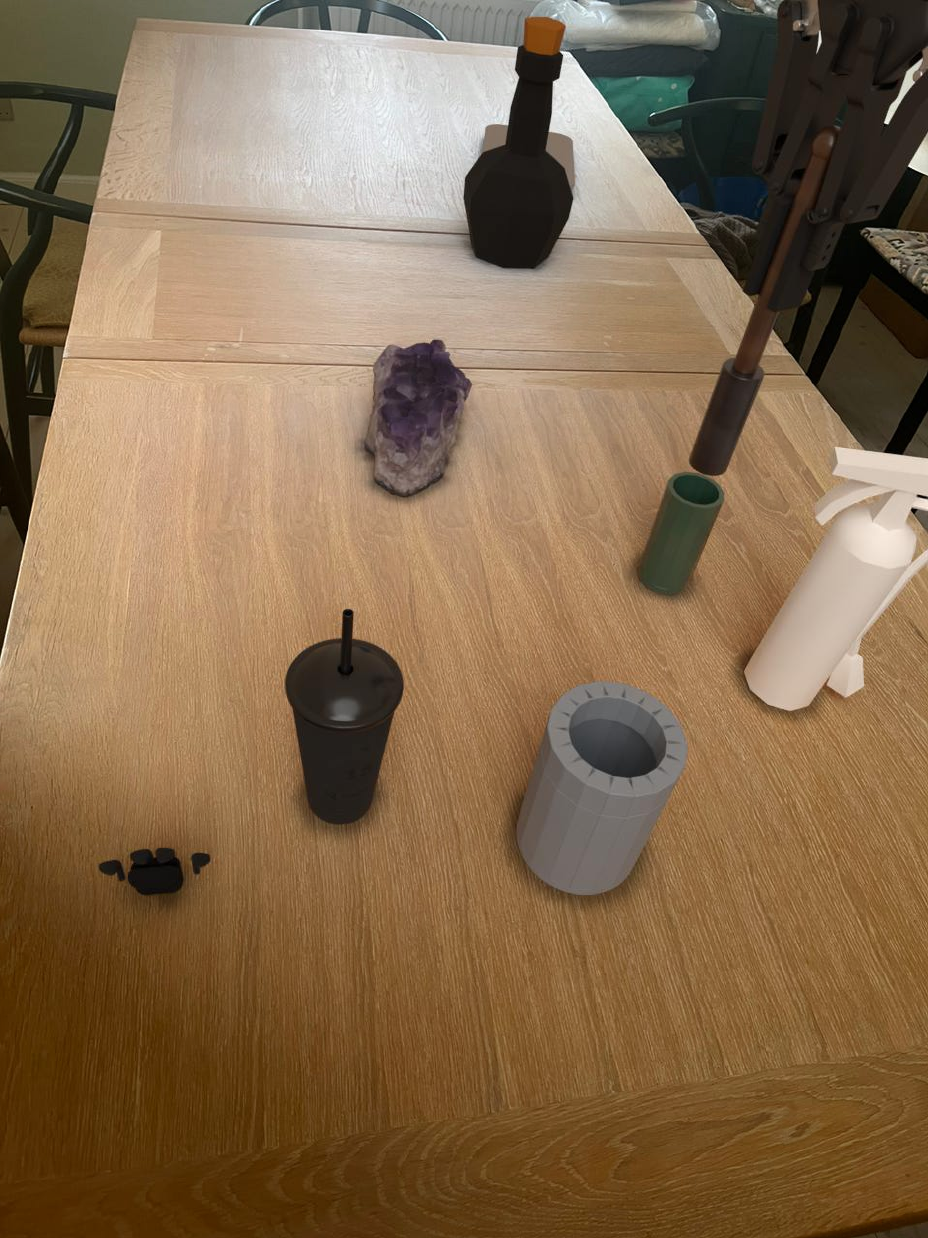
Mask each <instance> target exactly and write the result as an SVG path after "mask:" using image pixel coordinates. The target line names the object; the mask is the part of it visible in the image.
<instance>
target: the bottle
mask: <svg viewBox="0 0 928 1238" xmlns="http://www.w3.org/2000/svg"><path fill="white" fill-rule="evenodd" d="M523 25H524V26H523V44H522V45H519V46H517V52H516V57H515V63H514V64H515V65H514V71H515V74H516V75H517V77H518V80H517V83H516V87H515V91H514V94H513V97H512V101H511V104H510V109H509V116H508V123H507V125H508V129H507V136H506V143H505V145H502V146H499V147H497V148H494V149H491V150H488V151H485V152H482V151H481V154H480V155H479V156H478V158H477V159H476V161H475V162H474V164H473V165H472V167H471V168H470V170H469V171H468V172H467V174H466V175H465V177H464V184H463V195H462V196H463V204H464V211H465V216H466V222H467V228H468V234H469V241H470V244H471V247H472V250H473V252H474V254H475V257H476V258H479V259H481V260H483V261H485V262H488V263H491V264H493V265H495V266H497V267H500V268H502V269H535V268H536V267H538V266H539V265H541V264H542V263H543V262H545V261H546V260H548V259H549V257H550V255H551V253H552V251H553V249H554V247H555V245H556V243H557V241H558V240H559V238H560V237H561V234H562V232H563V230H564V229H565V226H566V224H567V223H568V222H569V219H570V215H571V212H572V208H573V204H574V203H573V202H574V200H575V199H574V195H573V191H572V189H571V188H570V185H569V181H568V178H567V175H566V171H565V168H564V167H563V166H562V165H561V164H560V163H559V162H558V161H557V160H556V159H555V158H554V157H553V156H551V155H550V154H549V153H548V152H547V151H546V145H547V140H548V134H549V132H550V128H551V123H552V115H553V97H554V94H553V93H554V82H555V81H557V80H559V79H560V77H561V71H562V66H563V60H564V54H563V53H562V52H561V51H560V49H561V45H562V42H563V38H564V34H565V31H566V28H567V26H566V25H565V23H563V21H559V20H557V19H555V18H552V17H549V16H529V17H525V18H524V24H523Z"/></svg>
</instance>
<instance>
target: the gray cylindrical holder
mask: <svg viewBox="0 0 928 1238" xmlns="http://www.w3.org/2000/svg"><path fill="white" fill-rule="evenodd" d="M542 734H543V735H542V738H541V740H540V744H539V747H538V751H537V753H536V754H537V755H536V756H535V761H534V763H533V767H532V770H531V774H530V777H529V780H528V784H527V787H526V791H525V794H524V797H523V801H522V803H521V807H520V811H519V815H518V818H517V822H516V828H515V831H516V832H515V836H516V844H517V846H518V850H519V853H520V855H521V857H522V859H523V860H524V862H525V864H526V865H527V867H528V868H529V869H530V871H531V872H532V873H533V874H535V876H536V877H537V878H539V879H540V880H541V881H542V882H544V883H545V884H547V885H548V886H550V887H551V888H554V889H556V890H558V891H561V892H563V893H566V894H571V895H579V896H594V895H601V894H603V893H606V892H609V891H611V890H614V889H615V888H617V887H618V886H620V885H621V884H622V883H623V882H624V881H625V880H626V879H627V878H628V876H629V875H630V874H631V872H632V870H633V868H634V866H635V865H636V863H637V861H638V859H639V858H640V856H641V854H642V851H643V850H644V848H645V846H646V844H647V842H648V840H649V838H650V835H651V834H652V832H653V831H654V828H655V827H656V824H657V822H658V821H659V818H660V816H661V814H662V813H663V811H664V809H665V807H666V805H667V802H668V801H669V798H670V797H671V795H672V793H673V791H674V789H675V787H676V785H677V784H678V781H679V779H680V778H681V776H682V773H683V771H684V769H685V767H686V765H687V757H688V747H689V746H688V741H687V739H686V735H685V733H684V729H683V727H682V724H681V723H680V721H679V720H678V719H677V717H676V716H675V715H674V713H673V712H672V711H671V710H670V709H669V707H668V706H666V704H664V703H663V702H661V701H660V700H658V698H656V697H654V696H653V695H652V694H650V693H649V692H647V691H645V690H642V689H640V688H637V687H634V686H632V685H631V684H627V683H622V682H614V681H607V680H599V681H594V682H593V681H592V682H587V683H582V684H579V685H577V686H575V687H573V688H571V689H569V690H567V691H566V692H564V693H563V694H562V695H561V696H560V697H559V698H558V699H557V701H556V702H555V703H554V705H553V706H552V707H551V709H550V712H549V715H548V718H547V720H546V724H545V728H544V732H543V733H542Z"/></svg>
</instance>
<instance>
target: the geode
mask: <svg viewBox="0 0 928 1238" xmlns="http://www.w3.org/2000/svg"><path fill="white" fill-rule="evenodd" d="M446 349H447V348H446V344H445V342H444V341H443V340H442V339H439V338H438V339H432V340H431V341H430V342H426V341H425V342H424V341H423V342H417V343H415V344H412V345H410V346H407V347H404V348H403V347H401V346H398V345H396V344H388V345H387V346H386V348H384V349H383V351H382V352H381V353H380V355H379V356H378V357H377V359H376V361H374V362H373V367H372V372H373V385H372V391H373V396H372V399H373V405H372V410H371V413H370V415H369V416H370V417H369V425H368V429H367V434H366V437H365V439H364V449H365V450H366V451H368V452H369V453H370V454H372V455H373V457H374V463H373V478H374V483H375V484H376V485H378V486H379V487H381V488H382V489H384V490H385V491H386V492H388V493H390V494H391V495H395V496H396V495H397V496H399V497H401V498H408V497H410V496H414V495H417V494H418V493H421V491H424V490H426V489H428V488H429V487H431V485H433V484H436V483H437V482H438V481H440V480H441V479H442V478H443V477H444V475H445V472H446V468H447V466H448V464H449V462H450V455H451V450H452V447H453V445H454V444H456V439H457V431H458V428H459V422H460V421H461V420H462V418H463V415H464V408H465V402H466V401H467V399H468V398H469V393H470V391H471V389H472V386H473V383H472V381H471V380H470V378H467V376H466V375H465V373H464V372H463V371H462V370H461V369H460V368H459V367H456V366H455V364H454V363H453V361H452V359H451V358H450V356H451V354H450V352H449V351H446Z"/></svg>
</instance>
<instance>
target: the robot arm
mask: <svg viewBox="0 0 928 1238" xmlns="http://www.w3.org/2000/svg"><path fill="white" fill-rule="evenodd" d="M776 10H777V12H776V24H777V26H776V28H777V31H776V32H777V45H776V50H775V55H774V61H773V65H772V69H771V74H770V78H769V83H768V88H767V93H766V97H765V102H764V106H763V110H762V111H763V112H762V115H761V120H760V125H759V130H758V135H757V139H756V142H755V143H756V144H755V147H754V148H755V149H754V153H753V158H752V162H751V169H752V172H753V174H754V175H756V176H761V177H762V178H763V179H764V181H765V182H766V185H767V186H766V187H767V192H768V194H767V198H766V200H765V203H764V206H763V209H762V212H761V216H760V217H759V222H758V223H757V226H756V229H755V239H756V240H757V241H758V242H759V244H758V247H757V249H756V252H755V255H754V258H753V261H752V263H751V267H750V269H749V272H748V275H747V278H746V281H745V283H744V286H743V289H742V293H744V294H745V295H747V296H749V297H753V296H758V295H759V292H760V290H761V287H762V284H763V282H764V279H765V276H766V273H767V271H768V268H769V265H770V263H771V260H772V257H773V254H774V252H775V249H776V246H777V244H778V241H779V238H780V236H781V233H782V230H783V227H784V225H785V222H786V219H787V217H788V214H789V211H790V209H791V206H792V203H793V200H794V198H795V195H796V192H797V190H798V187H799V184H800V182H801V179H802V176H803V173H804V171H805V168H806V165H807V163H808V160H809V157H810V155H811V143H812V140H813V138H814V136H815V135H816V134H817V132H819V131H820V130H821V129H822V128H824V127H827V126H834V124H835V121H836V119H837V117H838V114H839V112H840V110H841V108H842V106H843V104H844V102H845V100H846V101H847V106H846V109H845V112H844V116H843V119H842V122H841V125H840V132H839V135H838V138H837V141H836V144H835V148H834V151H833V154H832V157H831V160H830V164H829V167H828V170H827V173H826V176H825V180H824V183H823V186H822V189H821V192H820V196H819V199H818V202H817V205H816V209H814V210H808V211H807V214H804V215H802V216H801V219H800V221H799V224H798V227H797V229H796V232H795V235H794V237H793V240H792V243H791V245H790V248H789V250H788V253H787V256H786V258H785V261H784V264H783V266H782V269H781V272H780V274H779V277H778V279H777V282H776V285H775V287H774V290H773V293H772V295H771V298H770V301H769V303H768V306H767V308H768V309H770V310H771V311H773V312H774V313H775V312H779V311H780V312H783V311H786V310H787V311H788V310H792V309H795V308H801V306H802V304H803V302H804V299H805V297H806V294H807V292H808V289H809V287H810V285H811V283H812V280H813V277H814V275H815V272H816V270H820V269H824V268H825V267H826V266H827V265H828V263H829V262H830V260H831V257H832V255H833V253H834V251H835V248H836V245H837V243H838V241H839V238H840V236H841V233H842V231H843V229H844V226H845V225H849V224H855V223H861V222H866V221H871V220H875V219H877V218H878V217H879V215H880V214H881V212H882V211H883V209H884V207H885V206H886V204H887V202H888V201H889V199H890V197H891V195H892V193H893V192H894V190H895V189H896V187H897V185H898V184H899V182H900V180H901V179H902V177H903V175H904V174H905V172H906V171H907V168H908V167H909V165H910V164H911V162H912V161H913V158H914V157H915V155H916V153H917V152H918V150H919V148H920V147H921V145H922V143H923V142H924V140H925V138H926V137H927V135H928V0H781V2H780V3H779V4H778V7H777V9H776ZM819 40H820V44H819ZM921 60H922V61H921ZM920 61H921V63H920V65H919V67H918V69H915V71H914V72H913V73H912V81H913V82H914V83H913V84H912V85H911V87H910V88H908V90H907V92H906V93H905V94H904V96H903V97H902V99H901V101H900V102H899V104H898V105H897V108H896V109H895V111H894V113H893V114H892V116H891V118H890V119H889V121H888V124H887V125H886V127H885V129H884V131H883V128H884V125H885V123H886V120H887V117H888V114H889V110H890V108H891V106H892V104H893V103H895V101H897V99H898V98H899V95H900V93H901V90H902V87H903V84H904V81H905V79H906V75H907V73H908V71H909V70H911V69H912V68H913V67H914V66H915V65H917V64H918V63H919V62H920ZM882 131H883V132H882ZM780 312H779V313H780Z"/></svg>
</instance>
